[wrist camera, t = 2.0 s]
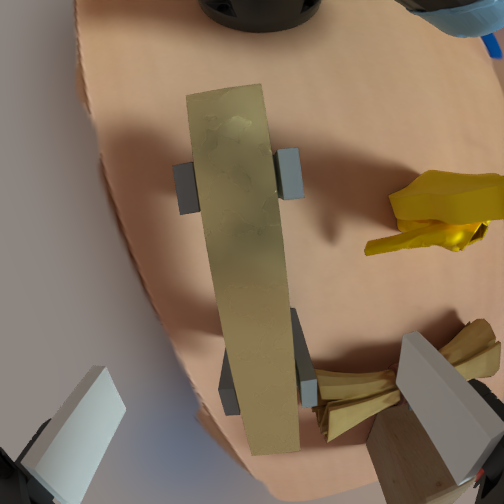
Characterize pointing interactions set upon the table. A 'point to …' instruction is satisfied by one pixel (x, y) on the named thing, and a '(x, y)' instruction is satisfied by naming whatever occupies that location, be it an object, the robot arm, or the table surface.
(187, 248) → the table surface
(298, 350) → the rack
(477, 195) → the figure statuette
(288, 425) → the rail
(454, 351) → the scroll
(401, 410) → the wooden block
